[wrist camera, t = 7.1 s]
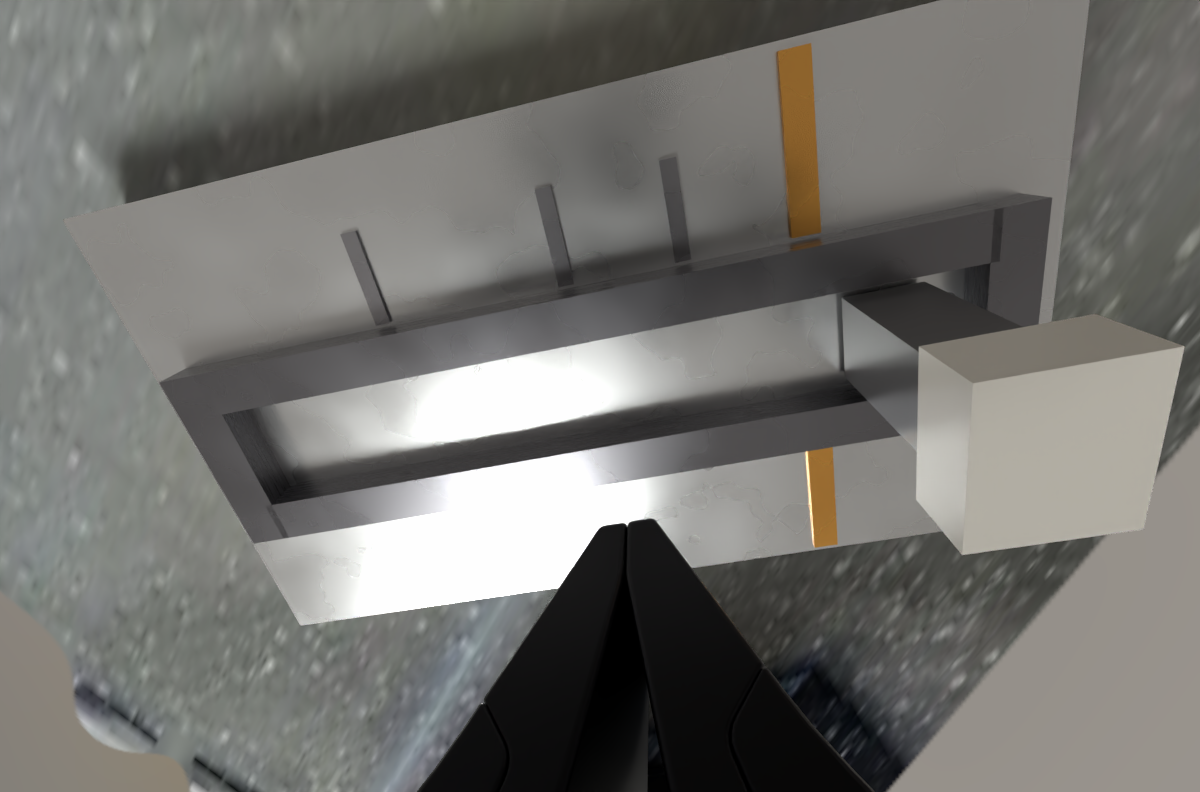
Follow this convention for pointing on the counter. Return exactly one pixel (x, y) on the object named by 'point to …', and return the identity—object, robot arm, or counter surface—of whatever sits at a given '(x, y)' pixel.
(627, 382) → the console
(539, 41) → the counter surface
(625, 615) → the robot arm
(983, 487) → the fader tab
